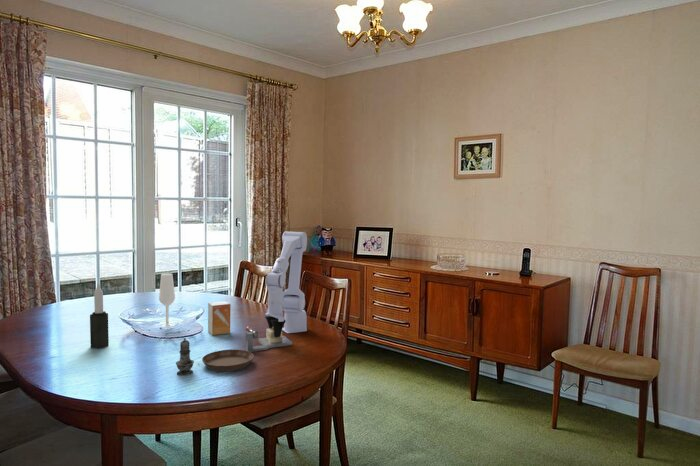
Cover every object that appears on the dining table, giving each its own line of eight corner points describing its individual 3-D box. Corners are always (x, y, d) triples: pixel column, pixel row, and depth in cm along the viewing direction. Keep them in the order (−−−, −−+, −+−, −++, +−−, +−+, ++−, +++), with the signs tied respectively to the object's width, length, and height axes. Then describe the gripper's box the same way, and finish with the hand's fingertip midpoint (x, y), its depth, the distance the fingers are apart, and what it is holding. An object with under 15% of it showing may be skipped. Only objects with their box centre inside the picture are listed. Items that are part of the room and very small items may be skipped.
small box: (212, 335, 204) (212, 305, 203) (207, 332, 209) (207, 302, 208) (230, 333, 208) (230, 303, 207) (225, 329, 214) (225, 300, 213)
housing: (278, 337, 199) (278, 324, 198) (282, 341, 194) (282, 328, 194) (266, 339, 196) (266, 326, 196) (270, 342, 192) (270, 329, 192)
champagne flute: (155, 328, 213) (155, 274, 211) (166, 324, 219) (166, 272, 217) (167, 330, 210) (167, 276, 208) (178, 326, 217) (178, 273, 215)
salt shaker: (178, 369, 165) (178, 335, 164) (196, 369, 165) (195, 335, 164) (173, 376, 159) (173, 340, 158) (191, 375, 159) (191, 340, 158)
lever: (249, 331, 195) (249, 324, 195) (258, 339, 185) (258, 332, 185) (245, 332, 194) (245, 325, 194) (253, 339, 184) (253, 332, 184)
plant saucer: (199, 359, 175) (199, 351, 175) (248, 354, 182) (248, 346, 182) (205, 377, 159) (205, 368, 159) (258, 370, 166) (258, 361, 166)
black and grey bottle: (110, 345, 189) (108, 282, 187) (99, 349, 184) (98, 284, 182) (99, 343, 190) (98, 281, 188) (89, 347, 186) (87, 283, 183)
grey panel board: (283, 338, 203) (283, 321, 202) (293, 346, 193) (293, 328, 192) (239, 343, 194) (239, 326, 193) (248, 352, 184) (248, 334, 183)
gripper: (260, 299, 199) (260, 331, 200) (271, 306, 186) (271, 341, 187) (276, 297, 202) (276, 329, 203) (289, 305, 189) (288, 338, 190)
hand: (275, 334), depth 195 cm, fingers closed on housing, 5 cm apart
